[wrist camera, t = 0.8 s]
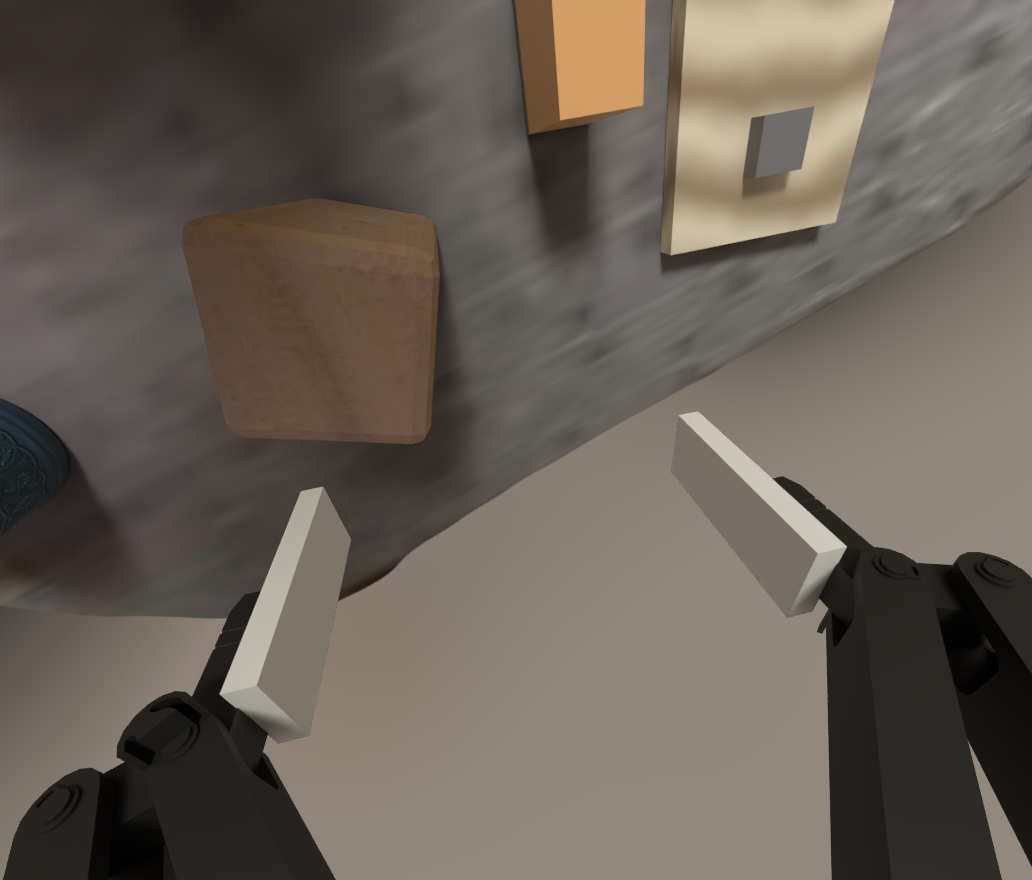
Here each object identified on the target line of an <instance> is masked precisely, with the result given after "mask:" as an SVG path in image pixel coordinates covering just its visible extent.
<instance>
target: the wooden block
mask: <svg viewBox="0 0 1032 880" xmlns="http://www.w3.org/2000/svg"><path fill="white" fill-rule="evenodd" d="M182 246H183V250H184V254H185V258H186V262H187V266H188V271H189V275H190V279H191V283H192V287H193V291H194V295H195V299H196V303H197V307H198V311H199V315H200V319H201V323H202V328H203V332H204V336H205V340H206V344H207V348H208V352H209V356H210V360H211V364H212V368H213V372H214V376H215V380H216V384H217V389H218V393H219V397H220V401H221V405H222V409H223V413H224V417H225V421H226V425H227V426H228V427H229V429H230V430H231V431H232V433H234V434H237V435H240V436H243V437H247V438H272V439H296V440H321V441H346V442H370V443H395V444H414V443H418V442H422V441H423V440H424V438H425V437H426V435H427V433H428V431H429V430H430V428H431V417H432V400H433V382H434V365H435V348H436V331H437V314H438V297H439V280H440V271H439V256H438V240H437V230H436V227H435V224H434V221H433V220H431V219H429V218H428V217H426V216H424V215H418V214H412V213H406V212H400V211H394V210H388V209H382V208H376V207H370V206H364V205H358V204H352V203H347V202H341V201H335V200H329V199H323V198H311V199H305V200H299V201H293V202H287V203H281V204H275V205H269V206H263V207H257V208H251V209H245V210H240V211H234V212H228V213H222V214H216V215H210V216H205V217H201V218H197V219H194V220H190V221H187V222H186V224H185V226H184V229H183V239H182Z"/></svg>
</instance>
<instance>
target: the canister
mask: <svg viewBox="0 0 1032 880" xmlns="http://www.w3.org/2000/svg"><path fill="white" fill-rule="evenodd" d="M68 472H69V460H68V456H67V454H66V451H65V449H64V447H63V446H62V444H61V443H60V441H59V440H58V439H57V437H56V436H55V435H54V434H53V433H52V432H51V431H50V430H49V429H48V428H47V427H46V426H45V425H44V424H42V423H41V422H40V421H39V420H37V419H36V418H35V417H33V416H32V415H30V414H29V413H27V412H25V411H24V410H22V409H20V408H18V407H16V406H15V405H13V404H10V403H8V402H6V401H4V400H2V399H0V537H1V536H2V535H3V534H5V533H6V532H7V531H8V530H9V529H11V528H12V527H13V526H14V525H15V524H17V523H18V522H19V521H20V520H21V519H23V518H24V517H25V516H26V515H28V514H29V513H30V512H31V511H32V510H34V509H36V508H38V507H40V506H41V505H43V504H44V503H46V502H47V501H48V500H49V499H50V498H51V497H53V496H54V495H55V494H56V492H57V491H58V490H59V488H60V487H61V485H62V484H63V482H64V481H65V480H66V478H67V475H68Z"/></svg>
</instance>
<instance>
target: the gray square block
mask: <svg viewBox="0 0 1032 880" xmlns="http://www.w3.org/2000/svg"><path fill="white" fill-rule="evenodd" d="M814 107H815V106H813V107H808V108H802V109H797V110H791V111H786V112H780V113H775V114H769V115H764V116H759V117H753V118H751V123H750V130H749V137H748V144H747V151H746V158H745V165H744V172H743V178H758V177H763V176H768V175H774V174H779V173H784V172H789V171H794V170H800V169H802V164H803V160H804V155H805V150H806V145H807V140H808V136H809V131H810V126H811V121H812V116H813V112H814Z"/></svg>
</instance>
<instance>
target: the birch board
mask: <svg viewBox="0 0 1032 880" xmlns="http://www.w3.org/2000/svg"><path fill="white" fill-rule="evenodd" d="M893 4H894V0H673V5H672V25H671V46H670V66H669V87H668V107H667V128H666V149H665V169H664V190H663V210H662V231H661V251H660V252H662V253H665V254H668V255H675V254H680V253H685V252H690V251H695V250H700V249H705V248H710V247H715V246H720V245H725V244H730V243H735V242H740V241H745V240H750V239H755V238H760V237H765V236H770V235H775V234H780V233H785V232H790V231H795V230H800V229H804V228H809V227H814V226H819V225H824V224H829V223H834V222H836V219H837V215H838V211H839V207H840V204H841V200H842V196H843V192H844V188H845V185H846V181H847V177H848V173H849V170H850V166H851V162H852V158H853V155H854V151H855V147H856V143H857V139H858V136H859V132H860V128H861V124H862V121H863V117H864V113H865V109H866V105H867V102H868V98H869V94H870V90H871V87H872V83H873V79H874V75H875V72H876V68H877V64H878V60H879V56H880V53H881V49H882V45H883V41H884V38H885V34H886V30H887V26H888V23H889V19H890V15H891V11H892V7H893ZM813 106H815V107H814V112H813V116H812V121H811V126H810V131H809V136H808V140H807V145H806V150H805V155H804V160H803V164H802V169H800V170H794V171H789V172H784V173H779V174H774V175H768V176H763V177H758V178H743V172H744V165H745V158H746V151H747V144H748V137H749V130H750V123H751V118H753V117H759V116H764V115H769V114H775V113H780V112H786V111H791V110H797V109H802V108H808V107H813Z"/></svg>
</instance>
